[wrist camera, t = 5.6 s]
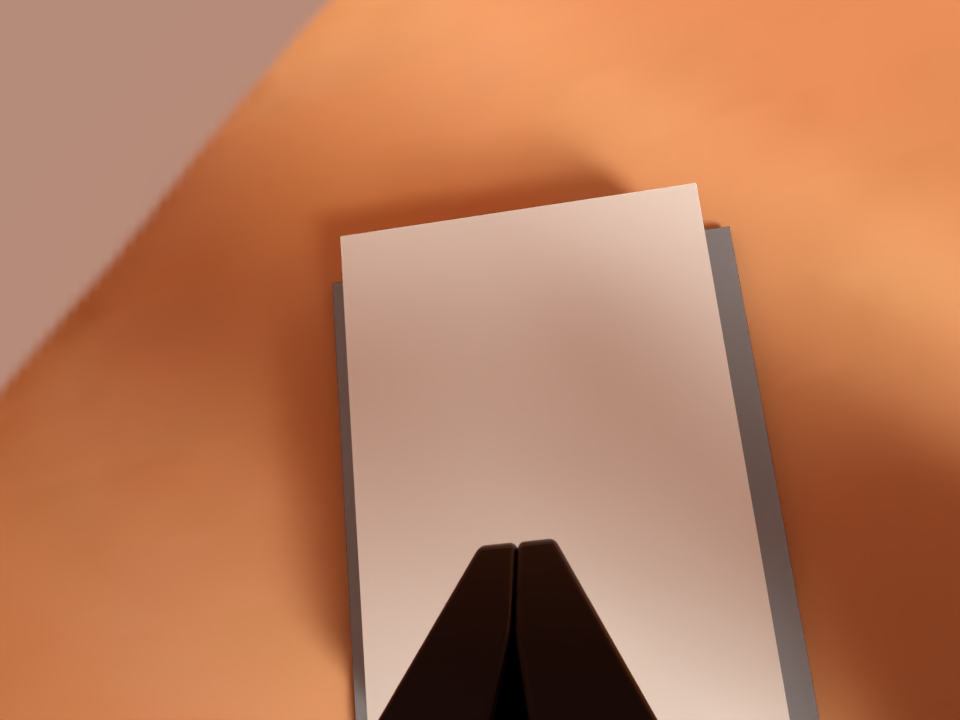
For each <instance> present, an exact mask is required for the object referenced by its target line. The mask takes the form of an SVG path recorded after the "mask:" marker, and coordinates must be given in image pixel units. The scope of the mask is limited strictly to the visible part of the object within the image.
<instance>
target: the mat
mask: <svg viewBox="0 0 960 720" xmlns="http://www.w3.org/2000/svg"><path fill="white" fill-rule="evenodd" d="M705 236H706V241H707V247H708V253H709V259H710V264H711V270H712V276H713V282H714V287H715V293H716V299H717V305H718V310H719V316H720V322H721V328H722V333H723V339H724V345H725V351H726V356H727V362H728V368H729V374H730V379H731V385H732V391H733V397H734V402H735V408H736V414H737V420H738V425H739V431H740V437H741V443H742V448H743V454H744V460H745V466H746V471H747V477H748V483H749V489H750V494H751V500H752V506H753V511H754V517H755V523H756V529H757V534H758V540H759V546H760V552H761V557H762V563H763V569H764V575H765V580H766V586H767V592H768V598H769V603H770V609H771V615H772V621H773V626H774V632H775V638H776V644H777V649H778V655H779V661H780V667H781V672H782V678H783V684H784V690H785V695H786V701H787V707H788V713H789V718H790V720H819V715H818V709H817V704H816V698H815V693H814V687H813V682H812V676H811V671H810V665H809V660H808V654H807V649H806V644H805V638H804V633H803V627H802V622H801V616H800V611H799V605H798V600H797V594H796V589H795V583H794V578H793V572H792V567H791V561H790V556H789V550H788V545H787V539H786V534H785V528H784V523H783V517H782V512H781V506H780V501H779V495H778V490H777V484H776V479H775V473H774V468H773V463H772V457H771V452H770V446H769V441H768V435H767V430H766V424H765V419H764V413H763V408H762V402H761V397H760V391H759V386H758V380H757V375H756V369H755V364H754V358H753V353H752V347H751V342H750V336H749V331H748V325H747V320H746V314H745V309H744V303H743V298H742V292H741V287H740V281H739V276H738V271H737V265H736V260H735V254H734V249H733V243H732V238H731V232H730V227H722V228H715V229H708V230H705ZM333 302H334V321H335V339H336V358H337V377H338V396H339V415H340V433H341V452H342V471H343V490H344V509H345V527H346V546H347V565H348V584H349V602H350V621H351V640H352V659H353V678H354V696H355V715H356V720H367V703H366V685H365V667H364V649H363V632H362V614H361V596H360V579H359V561H358V543H357V526H356V508H355V490H354V472H353V455H352V437H351V419H350V402H349V384H348V366H347V349H346V331H345V313H344V295H343V282H338V283H333Z"/></svg>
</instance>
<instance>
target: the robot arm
mask: <svg viewBox="0 0 960 720" xmlns="http://www.w3.org/2000/svg"><path fill="white" fill-rule="evenodd" d="M378 720H658V719H657V718H656V716H655V714H654V712H653V711H652V709H651V707H650V705H649V704H648V702H647V700H646V698H645V697H644V695H643V693H642V691H641V689H640V688H639V686H638V684H637V682H636V681H635V679H634V677H633V675H632V674H631V672H630V670H629V668H628V667H627V665H626V663H625V661H624V659H623V658H622V656H621V654H620V652H619V651H618V649H617V647H616V645H615V644H614V642H613V640H612V638H611V637H610V635H609V633H608V631H607V629H606V628H605V626H604V624H603V622H602V621H601V619H600V617H599V615H598V614H597V612H596V610H595V608H594V607H593V605H592V603H591V601H590V599H589V598H588V596H587V594H586V592H585V591H584V589H583V587H582V585H581V584H580V582H579V580H578V578H577V577H576V575H575V573H574V571H573V569H572V568H571V566H570V564H569V562H568V561H567V559H566V557H565V555H564V554H563V552H562V550H561V548H560V547H559V545H558V543H557V542H556V541H555V540H553V539H542V540H532V541H523V542H521V543H520V544H519V546H518V547H517V546H516V545H515V544H513V543H501V544H491V545H483V546H481V547H480V548H479V549H478V550H477V551H476V553H475V554H474V556H473V558H472V560H471V561H470V563H469V565H468V566H467V568H466V570H465V572H464V573H463V575H462V577H461V578H460V580H459V582H458V584H457V585H456V587H455V589H454V590H453V592H452V594H451V596H450V597H449V599H448V601H447V602H446V604H445V606H444V608H443V609H442V611H441V613H440V614H439V616H438V618H437V620H436V621H435V623H434V625H433V626H432V628H431V630H430V632H429V633H428V635H427V637H426V639H425V640H424V642H423V644H422V645H421V647H420V649H419V651H418V652H417V654H416V656H415V657H414V659H413V661H412V663H411V664H410V666H409V668H408V669H407V671H406V673H405V675H404V676H403V678H402V680H401V681H400V683H399V685H398V687H397V688H396V690H395V692H394V693H393V695H392V697H391V699H390V700H389V702H388V704H387V706H386V707H385V709H384V711H383V712H382V714H381V716H380V718H379V719H378Z"/></svg>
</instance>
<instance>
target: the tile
mask: <svg viewBox="0 0 960 720" xmlns="http://www.w3.org/2000/svg"><path fill="white" fill-rule="evenodd" d="M340 242H341V260H342V278H343V295H344V313H345V331H346V349H347V366H348V384H349V402H350V419H351V437H352V455H353V472H354V490H355V508H356V526H357V543H358V561H359V579H360V596H361V614H362V632H363V649H364V667H365V685H366V703H367V720H378V719H379V718H380V716H381V714H382V712H383V711H384V709H385V707H386V706H387V704H388V702H389V700H390V699H391V697H392V695H393V693H394V692H395V690H396V688H397V687H398V685H399V683H400V681H401V680H402V678H403V676H404V675H405V673H406V671H407V669H408V668H409V666H410V664H411V663H412V661H413V659H414V657H415V656H416V654H417V652H418V651H419V649H420V647H421V645H422V644H423V642H424V640H425V639H426V637H427V635H428V633H429V632H430V630H431V628H432V626H433V625H434V623H435V621H436V620H437V618H438V616H439V614H440V613H441V611H442V609H443V608H444V606H445V604H446V602H447V601H448V599H449V597H450V596H451V594H452V592H453V590H454V589H455V587H456V585H457V584H458V582H459V580H460V578H461V577H462V575H463V573H464V572H465V570H466V568H467V566H468V565H469V563H470V561H471V560H472V558H473V556H474V554H475V553H476V551H477V550H478V549H479V548H480V547H481V546H483V545H491V544H501V543H513V544H515V545H516V546H517V547H518V546H519V544H520V543H521V542H523V541H532V540H542V539H553V540H555V541H556V542H557V543H558V545H559V547H560V548H561V550H562V552H563V554H564V555H565V557H566V559H567V561H568V562H569V564H570V566H571V568H572V569H573V571H574V573H575V575H576V577H577V578H578V580H579V582H580V584H581V585H582V587H583V589H584V591H585V592H586V594H587V596H588V598H589V599H590V601H591V603H592V605H593V607H594V608H595V610H596V612H597V614H598V615H599V617H600V619H601V621H602V622H603V624H604V626H605V628H606V629H607V631H608V633H609V635H610V637H611V638H612V640H613V642H614V644H615V645H616V647H617V649H618V651H619V652H620V654H621V656H622V658H623V659H624V661H625V663H626V665H627V667H628V668H629V670H630V672H631V674H632V675H633V677H634V679H635V681H636V682H637V684H638V686H639V688H640V689H641V691H642V693H643V695H644V697H645V698H646V700H647V702H648V704H649V705H650V707H651V709H652V711H653V712H654V714H655V716H656V718H657V719H658V720H790V718H789V713H788V707H787V701H786V695H785V690H784V684H783V678H782V672H781V667H780V661H779V655H778V649H777V644H776V638H775V632H774V626H773V621H772V615H771V609H770V603H769V598H768V592H767V586H766V580H765V575H764V569H763V563H762V557H761V552H760V546H759V540H758V534H757V529H756V523H755V517H754V511H753V506H752V500H751V494H750V489H749V483H748V477H747V471H746V466H745V460H744V454H743V448H742V443H741V437H740V431H739V425H738V420H737V414H736V408H735V402H734V397H733V391H732V385H731V379H730V374H729V368H728V362H727V356H726V351H725V345H724V339H723V333H722V328H721V322H720V316H719V310H718V305H717V299H716V293H715V287H714V282H713V276H712V270H711V264H710V259H709V253H708V247H707V241H706V236H705V230H704V224H703V218H702V213H701V207H700V201H699V196H698V190H697V184H696V183H691V184H685V185H678V186H671V187H665V188H658V189H651V190H645V191H638V192H631V193H625V194H618V195H612V196H605V197H598V198H592V199H585V200H578V201H572V202H565V203H558V204H552V205H545V206H538V207H532V208H525V209H519V210H512V211H505V212H499V213H492V214H485V215H479V216H472V217H465V218H459V219H452V220H446V221H439V222H432V223H426V224H419V225H412V226H406V227H399V228H392V229H386V230H379V231H372V232H366V233H359V234H353V235H346V236H340Z"/></svg>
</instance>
